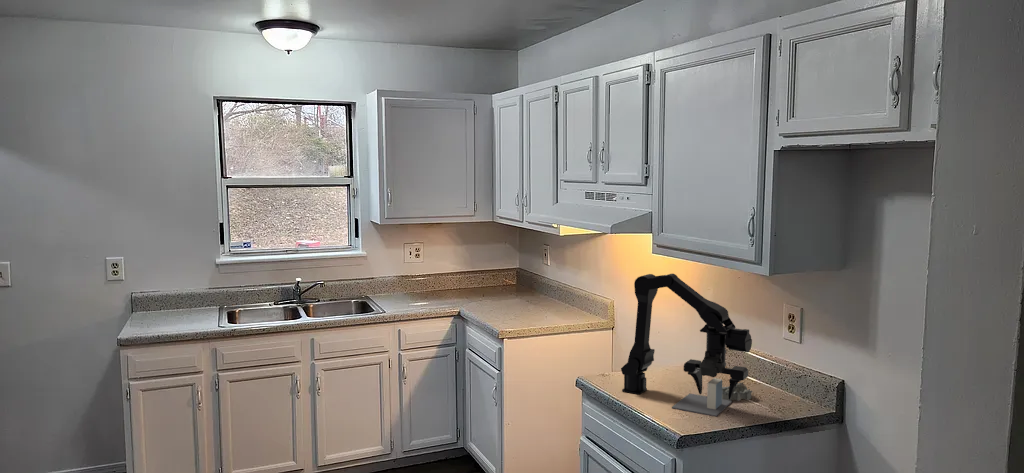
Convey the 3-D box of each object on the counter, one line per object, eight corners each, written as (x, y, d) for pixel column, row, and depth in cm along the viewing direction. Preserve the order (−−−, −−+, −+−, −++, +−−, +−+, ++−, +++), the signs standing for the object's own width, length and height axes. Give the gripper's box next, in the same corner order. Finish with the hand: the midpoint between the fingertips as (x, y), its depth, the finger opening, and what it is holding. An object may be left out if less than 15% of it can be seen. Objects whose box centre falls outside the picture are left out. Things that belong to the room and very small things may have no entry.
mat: (671, 408, 221) (671, 407, 221) (689, 394, 234) (689, 393, 234) (716, 416, 213) (716, 415, 213) (732, 401, 226) (732, 400, 226)
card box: (707, 408, 220) (707, 382, 219) (713, 402, 225) (713, 378, 224) (715, 409, 218) (716, 384, 217) (722, 404, 223) (722, 379, 222)
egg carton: (744, 393, 236) (744, 381, 235) (754, 401, 228) (754, 388, 228) (713, 395, 234) (713, 383, 234) (722, 402, 227) (723, 389, 226)
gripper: (677, 348, 218) (676, 398, 220) (738, 357, 208) (737, 409, 209) (690, 341, 227) (689, 388, 229) (749, 349, 217) (748, 398, 219)
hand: (714, 396), depth 221 cm, fingers open, 9 cm apart
